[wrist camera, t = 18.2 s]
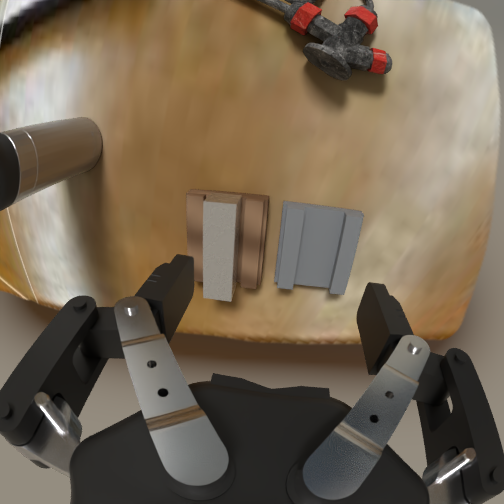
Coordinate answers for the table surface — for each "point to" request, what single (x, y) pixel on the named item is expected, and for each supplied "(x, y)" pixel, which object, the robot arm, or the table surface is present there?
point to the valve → (336, 38)
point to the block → (220, 245)
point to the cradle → (249, 235)
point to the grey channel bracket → (317, 246)
